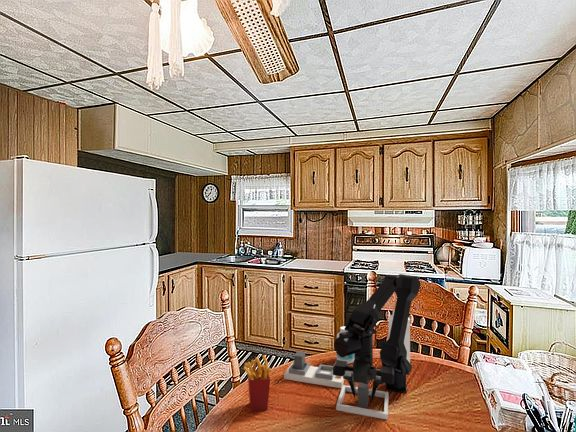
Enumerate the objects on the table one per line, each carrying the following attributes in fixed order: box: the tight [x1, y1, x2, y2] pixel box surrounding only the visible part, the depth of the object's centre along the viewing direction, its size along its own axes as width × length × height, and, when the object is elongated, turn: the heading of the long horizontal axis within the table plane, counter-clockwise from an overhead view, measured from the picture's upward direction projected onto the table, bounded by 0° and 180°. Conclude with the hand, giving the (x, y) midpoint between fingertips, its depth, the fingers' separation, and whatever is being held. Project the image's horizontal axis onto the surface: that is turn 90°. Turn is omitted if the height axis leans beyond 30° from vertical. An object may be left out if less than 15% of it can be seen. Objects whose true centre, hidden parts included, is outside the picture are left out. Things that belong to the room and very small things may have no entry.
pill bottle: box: [336, 325, 354, 365], centre depth 136 cm, size 8×7×14 cm
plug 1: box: [293, 350, 306, 370], centre depth 123 cm, size 3×4×6 cm, turn 162°
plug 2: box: [357, 382, 370, 409], centre depth 104 cm, size 3×4×6 cm, turn 162°
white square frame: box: [335, 384, 389, 420], centre depth 104 cm, size 15×13×2 cm
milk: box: [388, 309, 411, 364], centre depth 132 cm, size 6×6×22 cm
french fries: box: [243, 354, 272, 413], centre depth 103 cm, size 9×8×15 cm
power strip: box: [283, 361, 346, 389], centre depth 121 cm, size 21×9×4 cm, turn 72°
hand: (363, 398), depth 104 cm, fingers open, 5 cm apart
